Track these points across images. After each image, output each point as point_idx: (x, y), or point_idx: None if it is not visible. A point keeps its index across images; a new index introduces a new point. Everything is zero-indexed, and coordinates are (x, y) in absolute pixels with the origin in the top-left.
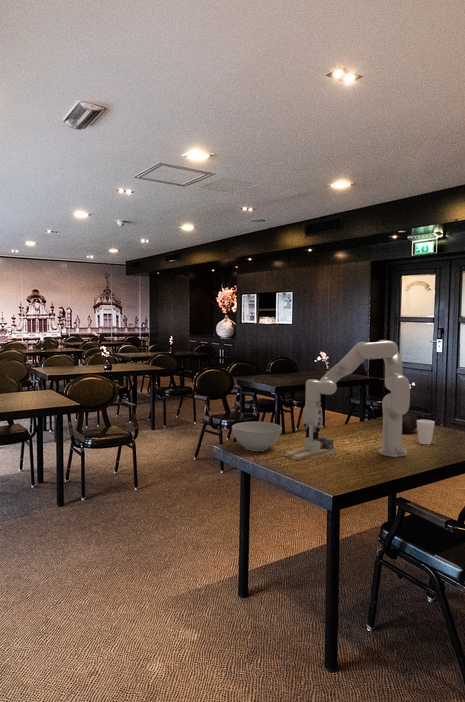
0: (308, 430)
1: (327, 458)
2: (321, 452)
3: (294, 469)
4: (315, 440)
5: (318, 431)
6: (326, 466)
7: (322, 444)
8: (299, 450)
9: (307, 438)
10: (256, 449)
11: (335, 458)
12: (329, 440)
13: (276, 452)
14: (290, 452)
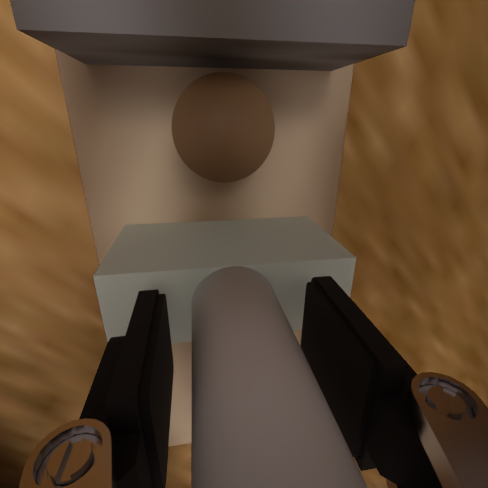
0: (159, 463)
1: (388, 219)
2: (332, 225)
3: (373, 475)
4: (265, 265)
5: (444, 400)
6: (467, 341)
7: (269, 118)
8: (173, 346)
9: (100, 284)
10: None
11: (435, 164)
12: (398, 47)
13: (42, 425)
14: (185, 424)
